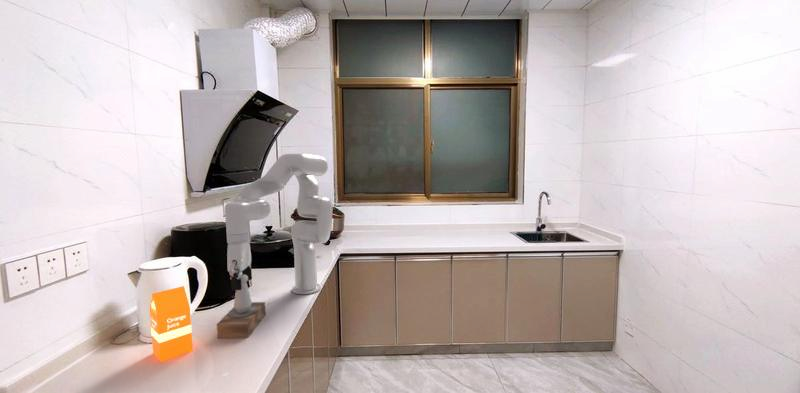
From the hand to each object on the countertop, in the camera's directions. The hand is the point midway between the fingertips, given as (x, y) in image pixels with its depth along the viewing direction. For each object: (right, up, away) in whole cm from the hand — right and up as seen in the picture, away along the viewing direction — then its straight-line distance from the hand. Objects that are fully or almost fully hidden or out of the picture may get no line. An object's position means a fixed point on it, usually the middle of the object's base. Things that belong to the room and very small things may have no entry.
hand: (242, 284), depth 130 cm
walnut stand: (0, -15, +1) cm, 15 cm away
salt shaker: (0, -10, +1) cm, 10 cm away
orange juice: (-14, -17, -16) cm, 28 cm away
